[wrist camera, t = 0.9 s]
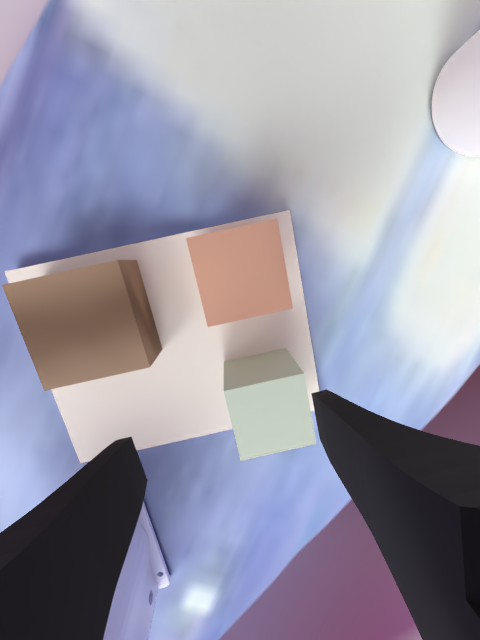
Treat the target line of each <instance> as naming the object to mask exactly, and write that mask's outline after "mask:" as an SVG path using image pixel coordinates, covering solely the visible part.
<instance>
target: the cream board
mask: <svg viewBox="0 0 480 640" xmlns="http://www.w3.org/2000/svg"><path fill="white" fill-rule="evenodd" d="M272 219H277V220H278V225H279V231H280V237H281V243H282V248H283V254H284V260H285V266H286V271H287V277H288V283H289V289H290V295H291V300H292V306H293V308H292V309H288V310H283V311H278V312H274V313H269V314H265V315H260V316H256V317H251V318H247V319H242V320H238V321H233V322H229V323H224V324H220V325H215V326H211V327H208V326H207V322H206V318H205V314H204V310H203V306H202V301H201V297H200V293H199V289H198V285H197V281H196V277H195V273H194V269H193V265H192V261H191V257H190V253H189V249H188V245H187V241H186V238H189V237H194V236H198V235H203V234H208V233H212V232H217V231H221V230H226V229H231V228H235V227H240V226H244V225H249V224H254V223H258V222H263V221H267V220H272ZM115 260H137V263H138V266H139V270H140V273H141V276H142V280H143V283H144V287H145V290H146V294H147V297H148V301H149V304H150V308H151V311H152V314H153V318H154V321H155V325H156V328H157V332H158V335H159V339H160V342H161V346H162V349H163V350H162V351H161V352H160V354H159V355H158V357H157V358H156V360H155V361H154V362H153V364H152V365H151V367H149V368H145V369H140V370H136V371H131V372H127V373H122V374H118V375H113V376H109V377H104V378H100V379H95V380H91V381H86V382H82V383H77V384H73V385H68V386H64V387H59V388H55V389H51V390H52V393H53V395H54V398H55V400H56V403H57V405H58V408H59V410H60V413H61V416H62V418H63V421H64V423H65V426H66V428H67V431H68V433H69V436H70V438H71V441H72V443H73V446H74V448H75V451H76V453H77V456H78V458H79V461H80V463H84V462H89V461H91V460H92V459H93V458H94V457H96V456H97V455H98V454H99V453H100V452H101V451H103V450H104V449H105V448H106V447H108V446H109V445H110V444H111V443H113V442H114V441H116V440H119V439H123V438H127V437H132V439H133V442H134V445H135V448H136V451H137V450H142V449H146V448H151V447H155V446H160V445H164V444H168V443H173V442H177V441H182V440H186V439H191V438H195V437H199V436H204V435H208V434H213V433H217V432H222V431H226V430H231V429H233V427H232V423H231V419H230V415H229V411H228V407H227V403H226V399H225V395H224V362H225V361H229V360H234V359H238V358H243V357H247V356H252V355H256V354H261V353H265V352H270V351H274V350H279V349H283V348H286V349H287V350H288V351H289V353H290V354H291V356H292V357H293V358H294V360H295V361H296V363H297V364H298V365H299V367H300V368H301V370H302V371H303V372H304V375H305V381H306V387H307V393H308V398H309V404H310V410H311V411H315V410H314V404H313V399H312V394H311V393H315V392H319V386H318V380H317V374H316V367H315V361H314V355H313V349H312V343H311V337H310V331H309V324H308V318H307V312H306V306H305V300H304V294H303V288H302V282H301V275H300V269H299V263H298V257H297V251H296V245H295V239H294V232H293V226H292V220H291V214H290V210H286V211H282V212H277V213H272V214H268V215H263V216H259V217H254V218H249V219H245V220H240V221H236V222H231V223H226V224H222V225H217V226H213V227H208V228H203V229H199V230H194V231H190V232H185V233H180V234H176V235H171V236H166V237H162V238H157V239H153V240H148V241H143V242H139V243H134V244H130V245H125V246H120V247H116V248H111V249H107V250H102V251H97V252H93V253H88V254H84V255H79V256H74V257H70V258H65V259H61V260H56V261H51V262H47V263H42V264H37V265H33V266H28V267H24V268H19V269H14V270H10V271H5V274H6V277H7V279H8V282H9V283H14V282H18V281H23V280H27V279H32V278H37V277H41V276H46V275H50V274H55V273H60V272H64V271H69V270H73V269H78V268H83V267H87V266H92V265H96V264H101V263H106V262H110V261H115Z"/></svg>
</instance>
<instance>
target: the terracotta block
mask: <svg viewBox="0 0 480 640" xmlns="http://www.w3.org/2000/svg"><path fill="white" fill-rule="evenodd" d="M186 241H187V245H188V249H189V253H190V257H191V261H192V265H193V269H194V273H195V277H196V281H197V285H198V289H199V293H200V297H201V301H202V306H203V310H204V314H205V318H206V322H207V326H208V327H211V326H215V325H220V324H224V323H229V322H233V321H238V320H242V319H247V318H251V317H256V316H260V315H265V314H269V313H274V312H278V311H283V310H288V309H292V308H293V306H292V300H291V295H290V289H289V283H288V277H287V271H286V266H285V260H284V254H283V248H282V243H281V237H280V231H279V225H278V220H277V219H272V220H267V221H263V222H258V223H254V224H249V225H244V226H240V227H235V228H231V229H226V230H221V231H217V232H212V233H208V234H203V235H198V236H194V237H189V238H186Z"/></svg>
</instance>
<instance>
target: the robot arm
mask: <svg viewBox="0 0 480 640" xmlns="http://www.w3.org/2000/svg"><path fill="white" fill-rule="evenodd" d="M311 394H312V399H313V404H314V410H315V415H316V420H317V426H318V431H319V436H320V440H321V442H322V444H323V447H324V449H325V451H326V454H327V456H328V458H329V460H330V462H331V464H332V466H333V467H334V469H335V471H336V473H337V474H338V476H339V478H340V479H341V481H342V483H343V484H344V486H345V488H346V489H347V491H348V493H349V494H350V496H351V498H352V499H353V501H354V503H355V504H356V506H357V508H358V509H359V511H360V513H361V514H362V516H363V518H364V519H365V521H366V523H367V525H368V527H369V528H370V530H371V532H372V534H373V536H374V538H375V540H376V542H377V544H378V546H379V548H380V550H381V552H382V554H383V556H384V559H385V561H386V563H387V565H388V567H389V569H390V571H391V573H392V575H393V577H394V579H395V581H396V584H397V586H398V588H399V590H400V592H401V594H402V596H403V598H404V601H405V603H406V605H407V607H408V609H409V611H410V613H411V615H412V618H413V620H414V622H415V624H416V626H417V629H418V630H419V633H420V635H421V637H422V639H423V640H480V446H478V445H473V444H469V443H464V442H460V441H456V440H452V439H448V438H444V437H440V436H437V435H433V434H430V433H426V432H423V431H420V430H417V429H414V428H411V427H408V426H405V425H402V424H399V423H397V422H394V421H392V420H389V419H387V418H384V417H382V416H380V415H377V414H375V413H373V412H371V411H368V410H366V409H364V408H362V407H360V406H358V405H356V404H354V403H352V402H350V401H348V400H346V399H344V398H342V397H340V396H338V395H336V394H334V393H333V392H330V391H328V390H323V391H319V392H315V393H311ZM146 484H147V479H146V476H145V473H144V470H143V467H142V465H141V462H140V459H139V456H138V453H137V451H136V448H135V445H134V442H133V439H132V437H127V438H123V439H119V440H116V441H114V442H113V443H111V444H110V445H109V446H108V447H106V448H105V449H104V450H103V451H101V452H100V453H99V454H98V455H97V456H96V457H94V458H93V459H92V460H91V461H90V462H89V463H87V464H86V465H85V466H84V467H83V468H82V469H81V470H79V471H78V472H77V473H76V474H75V475H74V476H72V477H71V478H70V479H69V480H68V481H67V482H65V483H64V484H63V485H62V486H60V487H59V488H58V489H57V490H56V491H54V492H53V493H52V494H51V495H50V496H48V497H47V498H46V499H45V500H43V501H42V502H41V503H40V504H39V505H37V506H36V507H35V508H33V509H32V510H31V511H29V512H28V513H27V514H26V515H24V516H23V517H22V518H20V519H19V520H17V521H16V522H15V523H13V524H12V525H11V526H9V527H8V528H6V529H5V530H4V531H2V532H1V533H0V640H148V638H149V633H150V628H151V623H152V618H153V613H154V608H155V603H156V598H157V593H158V589H160V588H164V587H167V586H168V585H169V584H170V575H169V572H168V570H167V567H166V564H165V561H164V558H163V555H162V552H161V550H160V547H159V544H158V541H157V538H156V535H155V532H154V530H153V527H152V524H151V521H150V518H149V515H148V512H147V510H146V507H145V504H144V501H143V500H144V495H145V489H146Z"/></svg>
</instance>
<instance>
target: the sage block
mask: <svg viewBox="0 0 480 640" xmlns="http://www.w3.org/2000/svg"><path fill="white" fill-rule="evenodd" d="M224 395H225V399H226V403H227V407H228V411H229V415H230V419H231V423H232V427H233V431H234V435H235V439H236V443H237V448H238V452H239V456H240V460H241V461H243V460H247V459H252V458H256V457H261V456H265V455H270V454H274V453H278V452H283V451H287V450H292V449H296V448H300V447H305V446H309V445H314V444H316V439H315V433H314V427H313V421H312V416H311V410H310V404H309V398H308V393H307V387H306V381H305V375H304V372H303V371H302V370H301V368H300V367H299V365H298V364H297V363H296V361H295V360H294V358H293V357H292V356H291V354H290V353H289V351H288V350H287V349H286V348H283V349H279V350H274V351H270V352H265V353H261V354H256V355H252V356H247V357H243V358H238V359H234V360H229V361H225V362H224Z"/></svg>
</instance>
